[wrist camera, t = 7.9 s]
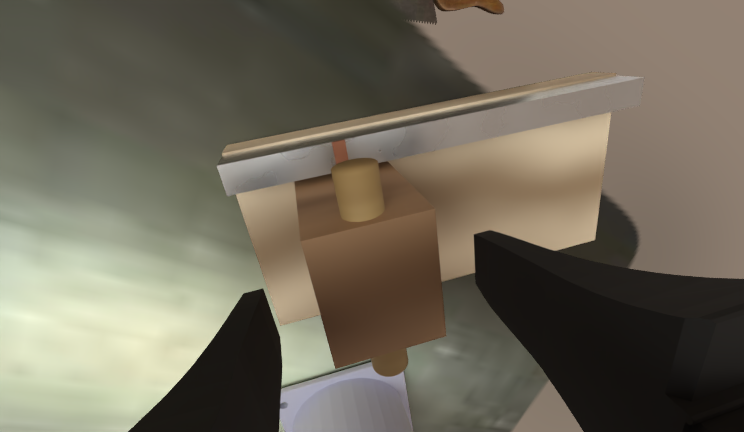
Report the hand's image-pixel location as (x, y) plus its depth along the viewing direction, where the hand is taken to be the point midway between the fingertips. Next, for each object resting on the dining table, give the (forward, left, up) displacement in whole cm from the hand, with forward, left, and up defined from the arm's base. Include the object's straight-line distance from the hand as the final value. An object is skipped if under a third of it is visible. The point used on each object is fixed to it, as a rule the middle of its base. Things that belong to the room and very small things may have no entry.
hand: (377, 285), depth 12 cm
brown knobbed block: (0, 0, -5) cm, 5 cm away
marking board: (0, -5, -7) cm, 8 cm away
